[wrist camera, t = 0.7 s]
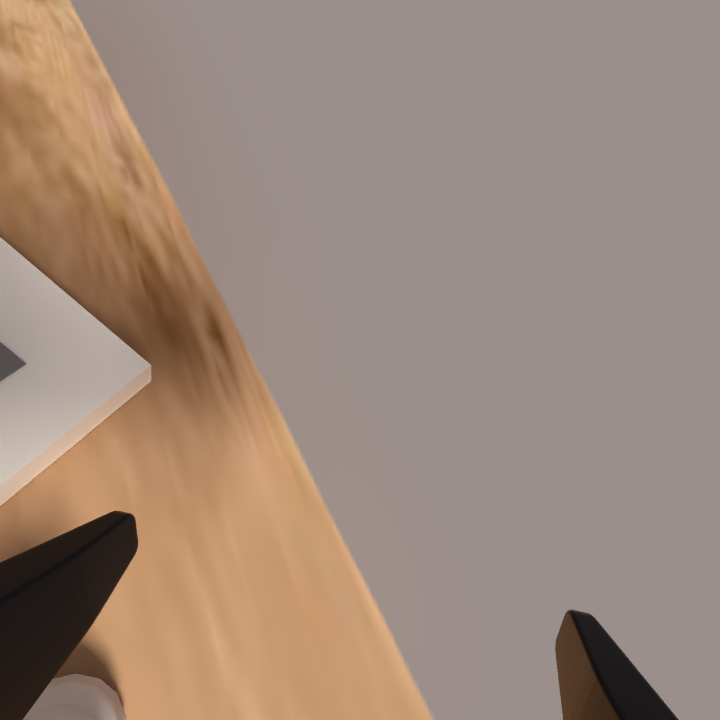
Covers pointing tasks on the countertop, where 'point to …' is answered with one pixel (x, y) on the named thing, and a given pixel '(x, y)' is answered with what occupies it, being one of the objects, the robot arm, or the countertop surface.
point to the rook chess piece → (77, 700)
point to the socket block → (53, 372)
